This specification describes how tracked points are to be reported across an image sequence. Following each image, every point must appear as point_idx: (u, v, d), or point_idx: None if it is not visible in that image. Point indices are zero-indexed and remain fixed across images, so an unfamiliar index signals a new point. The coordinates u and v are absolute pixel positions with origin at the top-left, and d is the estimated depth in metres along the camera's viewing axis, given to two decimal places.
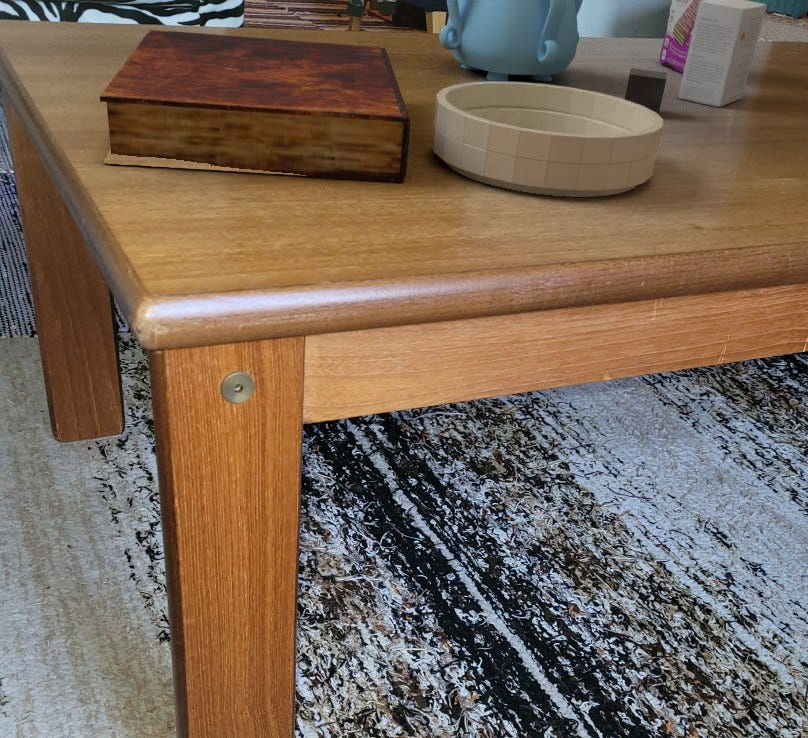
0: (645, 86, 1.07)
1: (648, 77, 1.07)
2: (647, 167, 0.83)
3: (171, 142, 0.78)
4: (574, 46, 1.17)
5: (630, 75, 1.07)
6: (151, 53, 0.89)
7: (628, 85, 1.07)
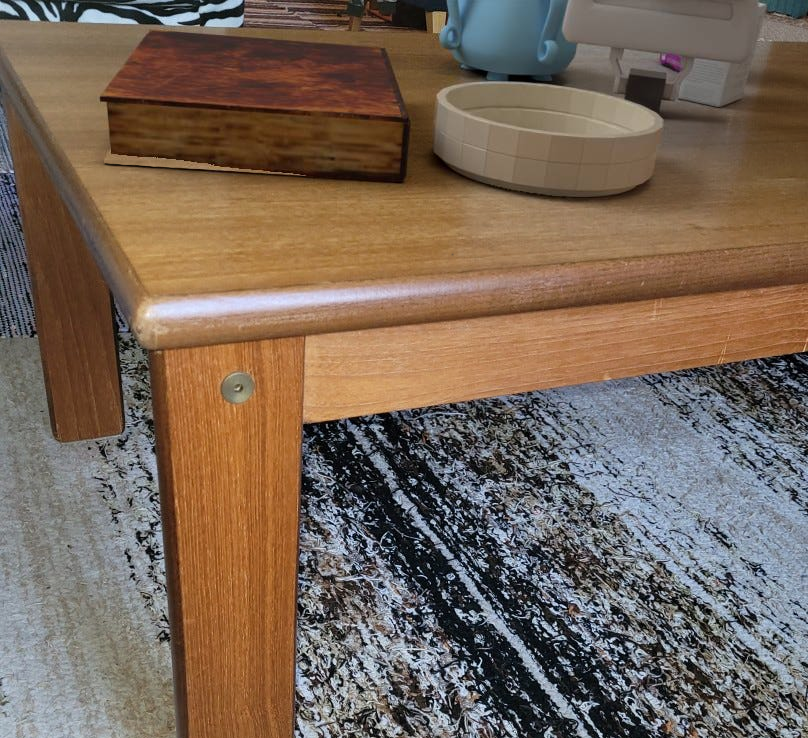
0: (645, 86, 1.07)
1: (648, 77, 1.07)
2: (647, 167, 0.83)
3: (171, 142, 0.78)
4: (574, 46, 1.17)
5: (630, 75, 1.07)
6: (151, 53, 0.89)
7: (628, 85, 1.07)
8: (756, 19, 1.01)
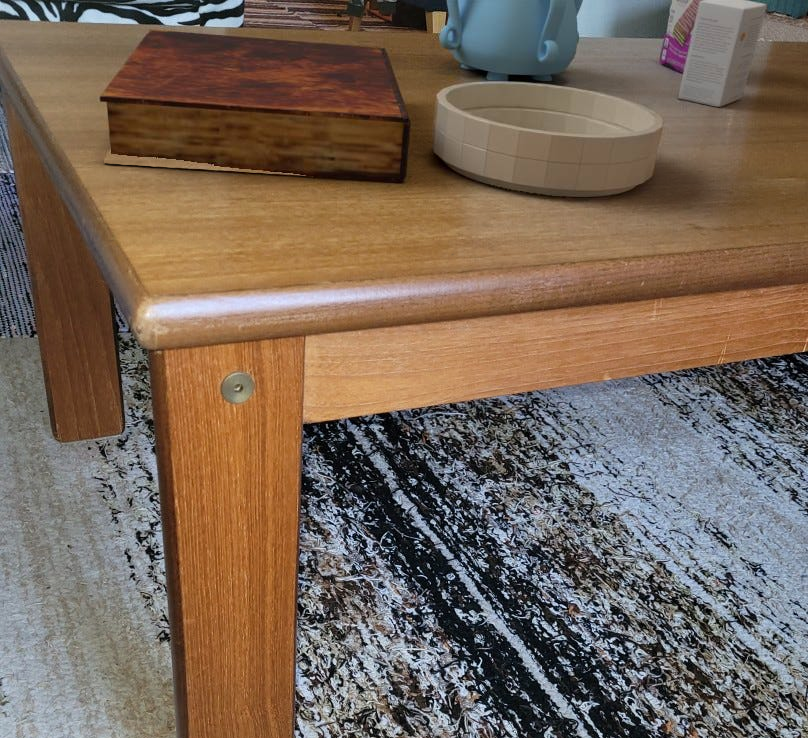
0: None
1: None
2: (647, 167, 0.83)
3: (172, 142, 0.78)
4: (574, 46, 1.17)
5: None
6: (151, 53, 0.89)
7: None
8: None
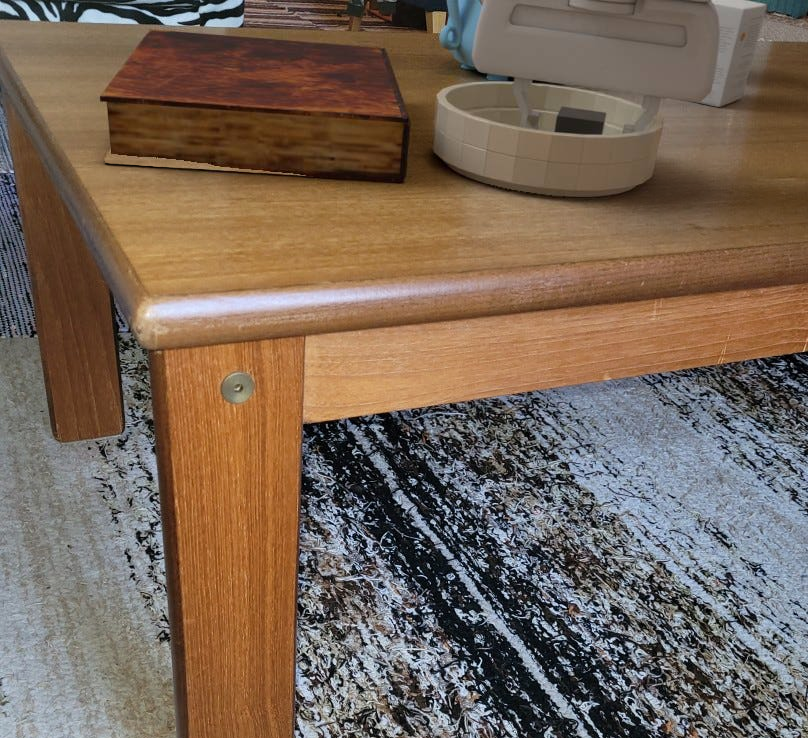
0: (577, 131, 0.84)
1: (581, 120, 0.84)
2: (647, 167, 0.83)
3: (172, 142, 0.78)
4: None
5: (558, 117, 0.84)
6: (151, 53, 0.89)
7: (556, 129, 0.84)
8: (717, 46, 0.78)
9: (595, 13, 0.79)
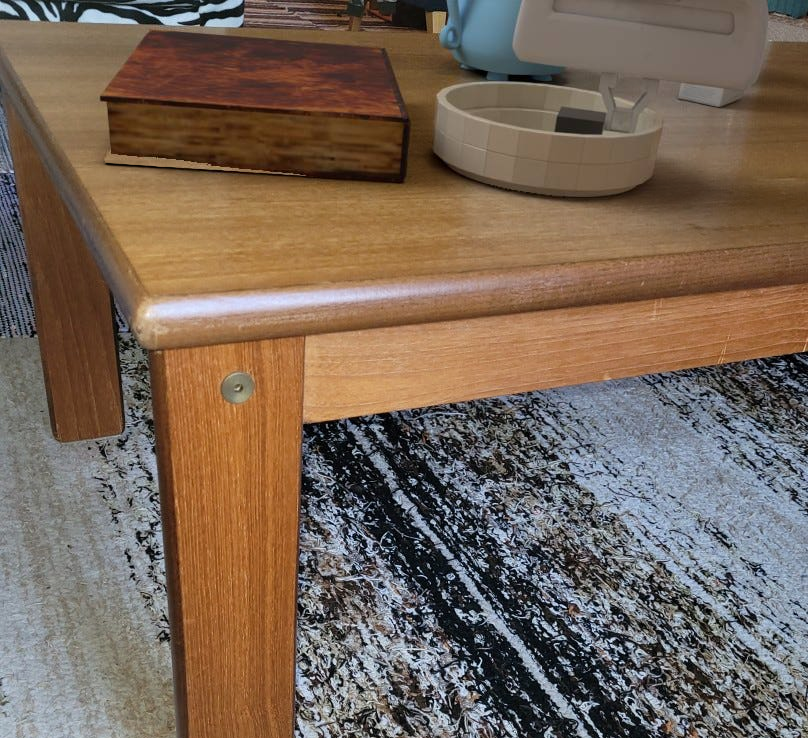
0: (577, 131, 0.84)
1: (581, 120, 0.84)
2: (647, 167, 0.83)
3: (172, 142, 0.78)
4: None
5: (558, 117, 0.84)
6: (151, 53, 0.89)
7: (556, 129, 0.84)
8: (765, 34, 0.77)
9: (641, 0, 0.78)
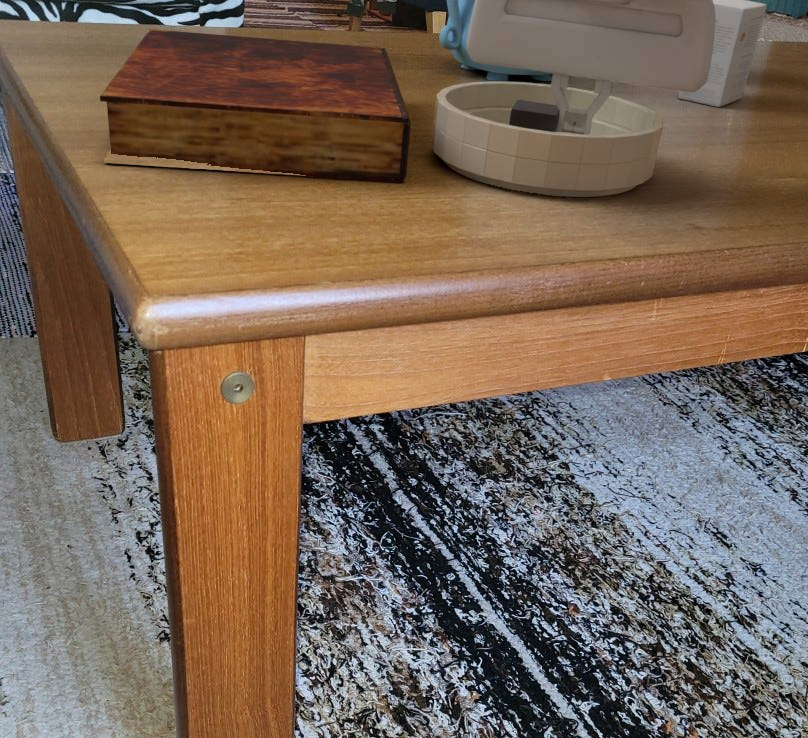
0: (531, 124, 0.85)
1: (535, 113, 0.84)
2: (647, 167, 0.83)
3: (172, 142, 0.78)
4: None
5: (512, 110, 0.84)
6: (151, 53, 0.89)
7: (510, 122, 0.85)
8: (712, 36, 0.78)
9: (590, 3, 0.79)
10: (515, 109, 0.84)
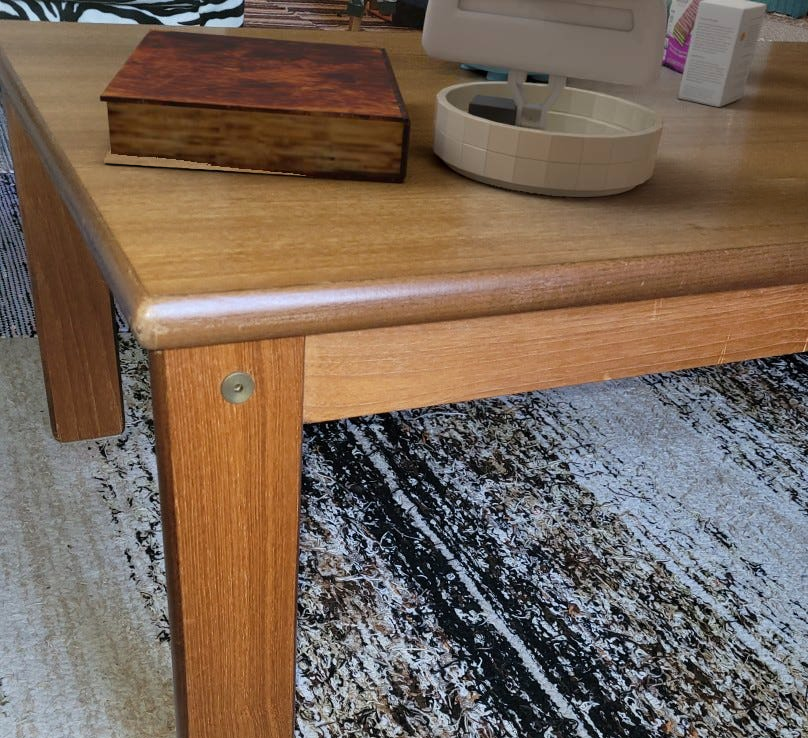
0: (489, 118, 0.85)
1: (492, 107, 0.85)
2: (647, 167, 0.83)
3: (172, 142, 0.78)
4: None
5: (470, 104, 0.85)
6: (151, 53, 0.89)
7: None
8: (663, 30, 0.78)
9: None
10: (473, 103, 0.85)
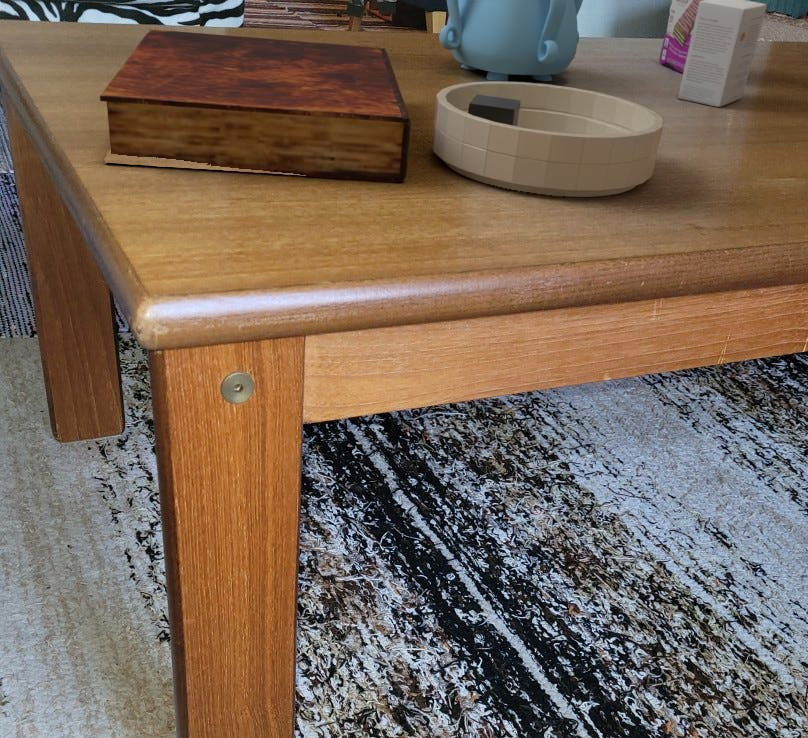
0: (489, 118, 0.85)
1: (492, 107, 0.85)
2: (647, 167, 0.83)
3: (172, 141, 0.78)
4: (574, 46, 1.17)
5: (470, 104, 0.85)
6: (151, 53, 0.89)
7: None
8: None
9: None
10: (473, 103, 0.85)
